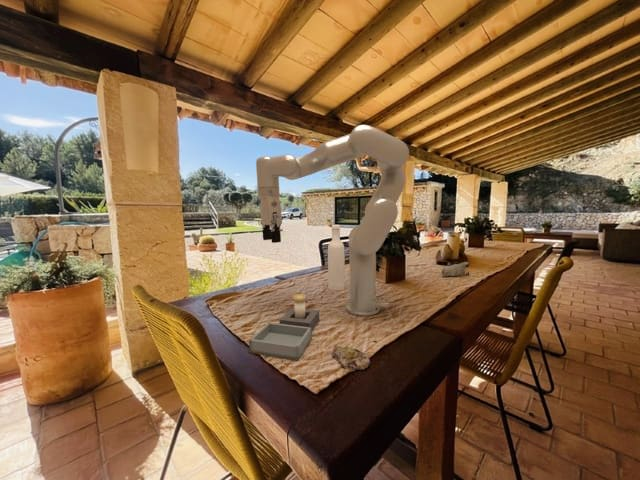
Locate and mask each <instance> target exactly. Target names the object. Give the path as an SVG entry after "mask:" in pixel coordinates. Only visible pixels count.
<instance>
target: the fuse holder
mask: <svg viewBox="0 0 640 480" xmlns="http://www.w3.org/2000/svg"><path fill="white" fill-rule="evenodd" d="M305 311H306V319H298V318H295V314H294V307H291V308H290V309H289V310H288V311H287V312H285V314H283V316H281V317H280V318H279V320H278V321H279V324H286V325H294V326H302V327H311V328H312V331H314V329H315V327H316V326H317V324H318V323H319V322H320V310H319V309H318V310H316V309H310V308H309V309H307V308H305Z"/></svg>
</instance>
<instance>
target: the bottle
mask: <svg viewBox="0 0 640 480" xmlns="http://www.w3.org/2000/svg"><path fill="white" fill-rule="evenodd" d="M340 226H341V225H340V224H332V225H331V240H330V242H328V246H327V283H328V284H327V286H328V290H329V291H333V292H339V291H344V290H345V287H346V281H345V280H346V277H345V273H346V272H345V266H346V265H345V257H346V256H345V245H344V242H342V241H341V236H340V235H341V227H340Z"/></svg>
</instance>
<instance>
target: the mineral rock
mask: <svg viewBox="0 0 640 480" xmlns="http://www.w3.org/2000/svg"><path fill="white" fill-rule="evenodd" d="M331 351H332V352H331V354H332V357H333V359H334V360H335V361H337V362H339V363H340V367H341V368H343V369H345V370H350V371H352V372H354V371H355V372H356V370H361V371H362V370H365V369H367V368H368V367H369V366H370V363H371V360H370V358H369V354H368V353H366V352H363V351H362V350H360V349H357V348H351V347H348V346H344V347H343V346H339V345H334V346H333V348H332V350H331Z"/></svg>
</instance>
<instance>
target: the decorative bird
mask: <svg viewBox="0 0 640 480" xmlns="http://www.w3.org/2000/svg"><path fill="white" fill-rule="evenodd" d="M468 264H469V262H468V261H464V262H463V261H462V262H461V263H456V264H452V265H451V264H450V265H446V266H444V267H443V268H442V270H441V277H442V278H445V277H446V276H450V277H456V276H460V275H465V276H470V271H468V272H467V271H466V269H467V268H466V267H467V265H468Z"/></svg>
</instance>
